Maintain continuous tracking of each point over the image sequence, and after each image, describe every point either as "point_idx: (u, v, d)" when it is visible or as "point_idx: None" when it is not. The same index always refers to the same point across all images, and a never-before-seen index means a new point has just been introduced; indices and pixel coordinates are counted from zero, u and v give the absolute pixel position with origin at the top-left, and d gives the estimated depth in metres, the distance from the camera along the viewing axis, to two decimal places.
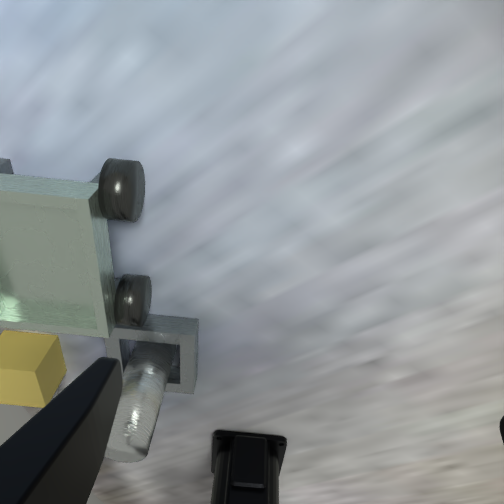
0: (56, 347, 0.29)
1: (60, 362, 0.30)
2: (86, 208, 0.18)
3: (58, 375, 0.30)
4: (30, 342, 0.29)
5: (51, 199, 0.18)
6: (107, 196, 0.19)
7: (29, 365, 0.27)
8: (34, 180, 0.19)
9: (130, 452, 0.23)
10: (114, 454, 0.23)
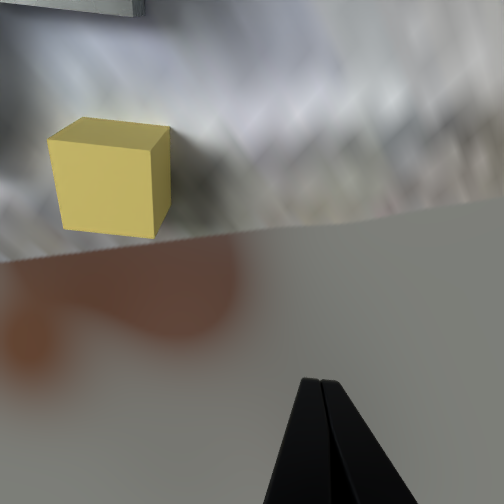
0: (94, 121, 0.18)
1: (132, 125, 0.18)
2: None
3: (144, 131, 0.17)
4: None
5: None
6: None
7: None
8: None
9: None
10: None
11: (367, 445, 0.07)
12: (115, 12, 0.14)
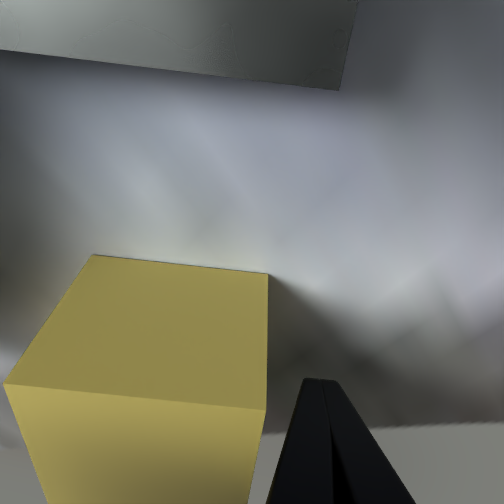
0: (116, 274, 0.08)
1: (194, 283, 0.08)
2: None
3: (225, 306, 0.08)
4: None
5: None
6: None
7: None
8: None
9: None
10: None
11: (365, 445, 0.07)
12: (293, 77, 0.05)
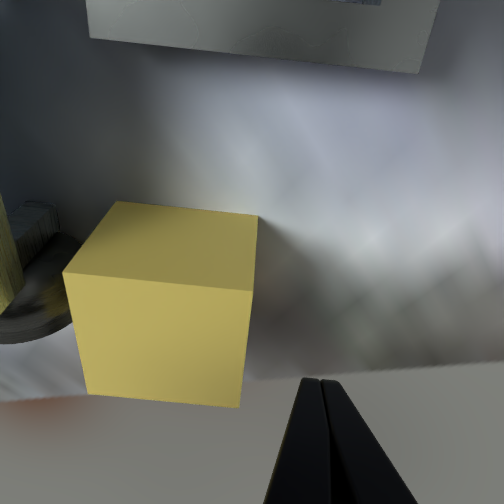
0: (138, 211, 0.11)
1: (199, 218, 0.11)
2: None
3: (224, 232, 0.10)
4: None
5: None
6: None
7: None
8: None
9: None
10: None
11: (367, 445, 0.07)
12: (386, 65, 0.07)
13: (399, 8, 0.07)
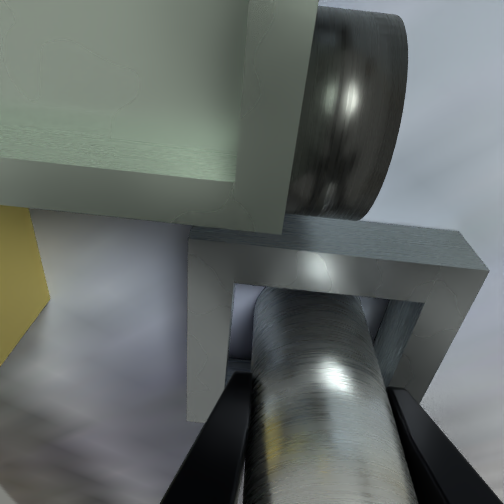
0: None
1: (29, 263, 0.10)
2: None
3: (22, 302, 0.10)
4: None
5: None
6: None
7: None
8: None
9: None
10: None
11: (448, 453, 0.07)
12: (189, 408, 0.11)
13: None
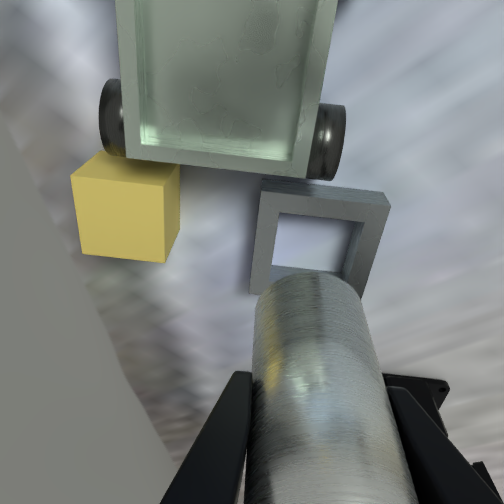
0: (177, 177, 0.20)
1: (177, 207, 0.21)
2: None
3: (175, 225, 0.20)
4: (143, 162, 0.19)
5: None
6: None
7: (152, 180, 0.17)
8: None
9: None
10: None
11: (448, 453, 0.07)
12: (251, 285, 0.22)
13: (267, 286, 0.22)
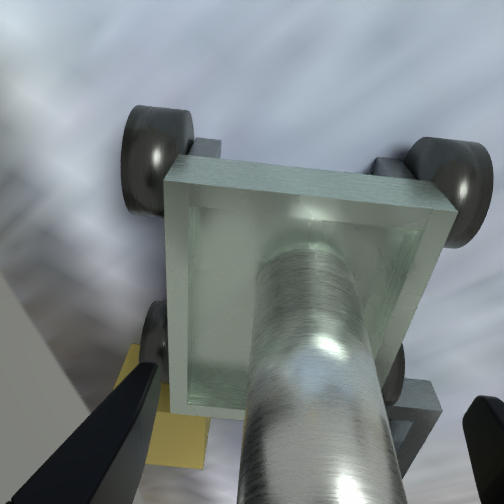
0: None
1: None
2: (444, 229, 0.10)
3: None
4: None
5: (383, 211, 0.09)
6: (453, 205, 0.10)
7: None
8: (318, 175, 0.10)
9: None
10: None
11: None
12: None
13: None
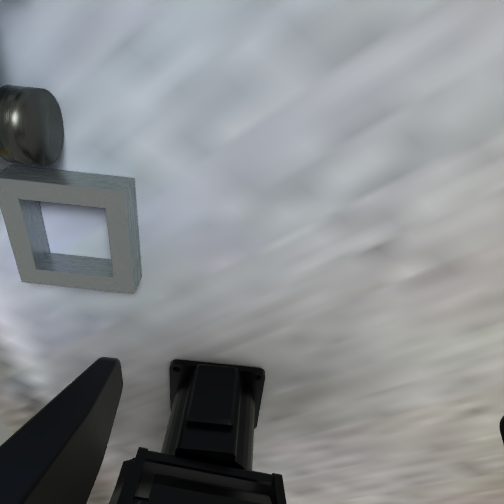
0: None
1: None
2: None
3: None
4: None
5: None
6: None
7: None
8: None
9: None
10: None
11: None
12: (20, 273, 0.21)
13: (37, 274, 0.21)
